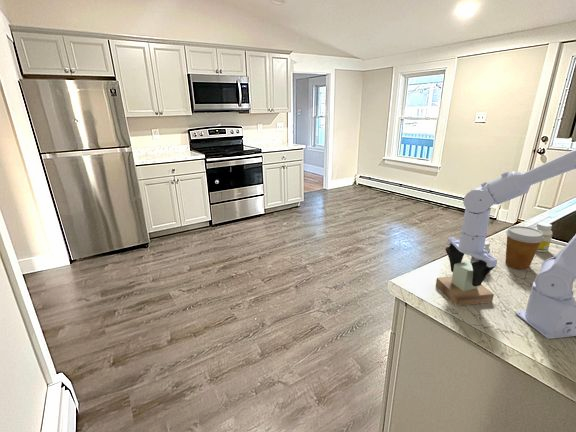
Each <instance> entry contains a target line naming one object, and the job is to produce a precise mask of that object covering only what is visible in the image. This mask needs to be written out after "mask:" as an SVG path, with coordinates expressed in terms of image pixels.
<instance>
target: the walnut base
mask: <svg viewBox="0 0 576 432" xmlns="http://www.w3.org/2000/svg"><path fill="white" fill-rule="evenodd" d="M451 281H452V275H451V276H442V277H436V281H435V286H436V287H437V288H438V289H439V290H440V291H441V292H442V293H443V294H444V295H445V296H446V297H447V298H448V299H449V300H450V301H451V302H452V303H453V304H454V305H455V306H464V305H465V306H466V305H476V304H478V305H479V304H486V303H488V304H489V303H493V299H494V296H495V294H494V293H493V292H492V291H491V290H489V289H488V288H487V287H486V286H484V285H482V284H481V285H480V286H478V288H477V289H472V290H467V291H462V290H461V289H460V288H458V287H457V286H455V285H454V284H453V283H451Z"/></svg>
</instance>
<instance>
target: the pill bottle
mask: <svg viewBox="0 0 576 432" xmlns="http://www.w3.org/2000/svg"><path fill="white" fill-rule="evenodd" d="M490 245H491V242H490V241H488V240H486V239H485V244H484V247H485V250H486V251H487V252H488V253H489V254H490V252H491V248H490ZM469 262H470V263H471V264H472V263H473V262H479V260H478V259H476V258H474V257H472V256H471V257H470V261H469Z"/></svg>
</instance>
